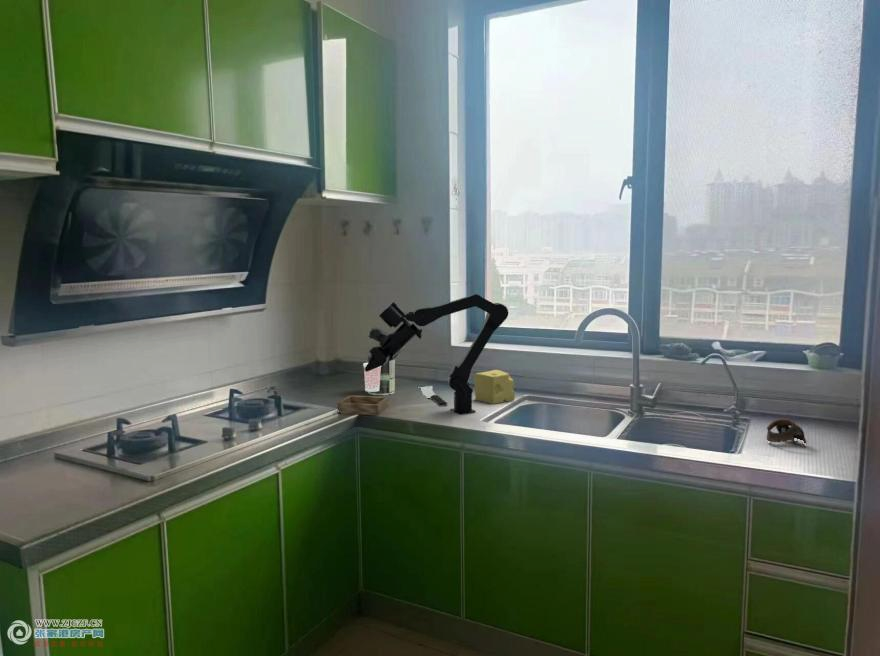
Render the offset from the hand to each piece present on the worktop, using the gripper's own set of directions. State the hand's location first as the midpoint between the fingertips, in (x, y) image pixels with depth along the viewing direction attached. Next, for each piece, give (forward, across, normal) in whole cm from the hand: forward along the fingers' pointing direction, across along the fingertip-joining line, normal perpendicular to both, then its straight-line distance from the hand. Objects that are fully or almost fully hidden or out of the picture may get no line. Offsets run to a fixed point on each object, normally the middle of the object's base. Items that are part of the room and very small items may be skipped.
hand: (368, 369), depth 213 cm
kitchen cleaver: (-1, -24, +21) cm, 32 cm away
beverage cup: (+4, 0, +6) cm, 7 cm away
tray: (+11, 0, +9) cm, 14 cm away
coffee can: (+12, -28, +8) cm, 31 cm away
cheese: (-18, -24, +38) cm, 49 cm away
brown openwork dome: (-79, +13, +98) cm, 126 cm away
